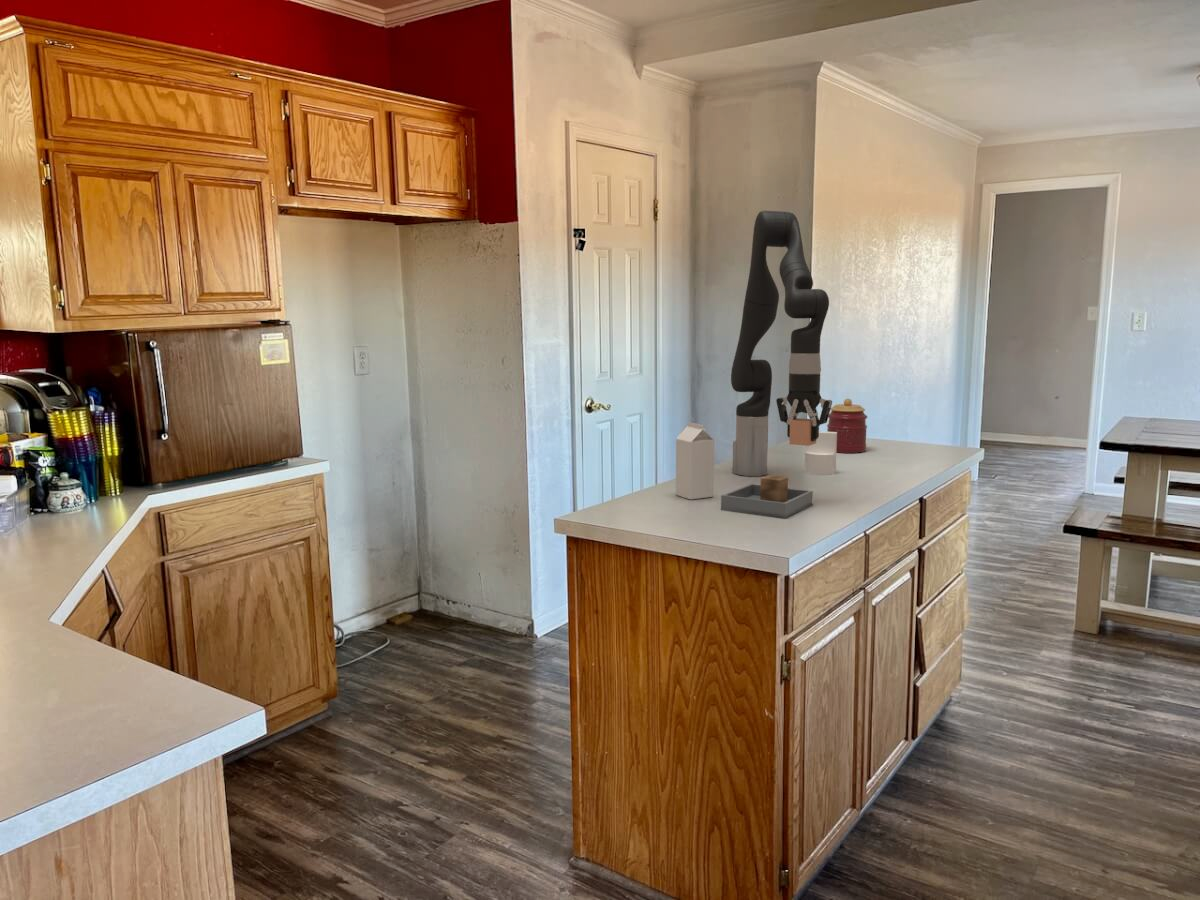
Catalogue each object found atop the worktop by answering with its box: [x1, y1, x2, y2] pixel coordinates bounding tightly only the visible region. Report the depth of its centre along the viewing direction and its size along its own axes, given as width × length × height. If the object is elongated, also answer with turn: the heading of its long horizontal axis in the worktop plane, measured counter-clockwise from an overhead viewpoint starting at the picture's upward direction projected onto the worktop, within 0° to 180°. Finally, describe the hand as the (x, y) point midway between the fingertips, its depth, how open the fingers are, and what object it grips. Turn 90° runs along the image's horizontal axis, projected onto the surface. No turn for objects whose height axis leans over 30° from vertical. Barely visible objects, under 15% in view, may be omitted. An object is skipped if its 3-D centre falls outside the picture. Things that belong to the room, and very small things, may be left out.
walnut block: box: [760, 474, 789, 503], centre depth 218 cm, size 5×5×6 cm
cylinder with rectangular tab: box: [803, 430, 837, 476], centre depth 259 cm, size 9×9×12 cm
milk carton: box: [675, 421, 715, 500], centre depth 227 cm, size 7×7×19 cm
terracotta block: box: [789, 417, 816, 447], centre depth 219 cm, size 5×5×6 cm
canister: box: [826, 398, 868, 454], centre depth 296 cm, size 13×13×18 cm
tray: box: [720, 483, 814, 519], centre depth 215 cm, size 17×17×4 cm
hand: (802, 439), depth 219 cm, fingers closed on terracotta block, 5 cm apart
